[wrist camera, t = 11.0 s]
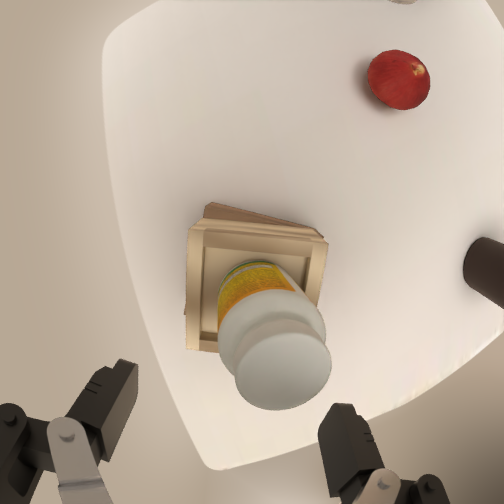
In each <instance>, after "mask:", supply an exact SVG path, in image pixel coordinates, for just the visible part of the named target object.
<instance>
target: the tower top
mask: <svg viewBox="0 0 504 504" xmlns="http://www.w3.org/2000/svg"><path fill="white" fill-rule="evenodd" d="M327 249H328V243H327V242H326V241H325V240H324V239H323V238H322V237H320V236H319V235H318V234H317V233H316V232H315V231H314V230H313V229H307V228H299V227H290V226H281V225H271V224H262V223H252V222H241V221H231V220H220V219H209V218H202V219H200V220H199V221H198V222H197V223H196V224H195V225H193V226H192V227H191V228H190V229H189V230H188V244H187V271H186V349H191V350H198V351H206V352H214V353H219V350H218V331H217V321H218V316H217V314H218V311H217V309H218V307H217V305H218V304H217V303H218V290H219V286H220V284H221V282H222V280H223V278H224V277H225V275H226V274H227V273H228V272H229V271H230V270H231V269H232V268H234V267H235V266H237V265H239V264H241V263H243V262H247V261H252V260H266V261H270V262H273V263H275V264H277V265H279V266H280V267H282V268H283V269H284V270H285V271H286V272H287V273H288V274H289V275H290V276H291V277H292V279H293V280H294V281H295V282H296V283H297V285H298V286H299V287H300V288H301V290H302V291H303V292H304V293H305V294H306V295H307V296H308V298H309V299H310V300H311V301H312V302H313V304H314V305H315V306H316V307H317V303H318V299H319V294H320V288H321V283H322V278H323V272H324V267H325V261H326V255H327Z"/></svg>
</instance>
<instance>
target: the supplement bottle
mask: <svg viewBox="0 0 504 504" xmlns="http://www.w3.org/2000/svg"><path fill="white" fill-rule="evenodd" d="M217 304H218V305H217V307H218V309H217V311H218V314H217V316H218V321H217V331H218V350H219V354H220V357H221V360H222V362H223V364H224V365H225V367H226V368H227V369H228V370H229V372H230V373H231V374H232V375H234V376H235V382H236V386H237V389H238V391H239V393H240V394H241V396H242V397H243V398H244V399H245V400H246V401H247V402H249V403H250V404H252V405H254V406H256V407H259V408H262V409H266V410H285V409H291V408H294V407H297V406H299V405H301V404H304V403H305V402H307V401H309V400H310V399H312V398H313V397H314V396H315V395H317V394H318V393H319V392H320V391H321V390H322V388H323V387H324V385H325V384H326V382H327V381H328V378H329V376H330V373H331V368H332V361H331V356H330V353H329V350H328V349H327V347H326V345H325V341H326V329H325V324H324V320H323V318H322V315H321V314H320V312H319V310H318V309H317V307H316V306H315V305H314V304H313V302H312V301H311V300H310V299H309V298H308V296H307V295H306V294H305V293H304V292H303V291H302V290H301V288H300V287H299V286H298V285H297V283H296V282H295V281H294V280H293V279H292V277H291V276H290V275H289V274H288V273H287V272H286V271H285V270H284V269H283V268H282V267H280V266H279V265H277V264H275V263H273V262H270V261H266V260H252V261H247V262H243V263H241V264H239V265H237V266H235V267H234V268H232V269H231V270H230V271H229V272H228V273H227V274H226V275H225V277H224V278H223V280H222V282H221V284H220V286H219V290H218V303H217Z"/></svg>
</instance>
